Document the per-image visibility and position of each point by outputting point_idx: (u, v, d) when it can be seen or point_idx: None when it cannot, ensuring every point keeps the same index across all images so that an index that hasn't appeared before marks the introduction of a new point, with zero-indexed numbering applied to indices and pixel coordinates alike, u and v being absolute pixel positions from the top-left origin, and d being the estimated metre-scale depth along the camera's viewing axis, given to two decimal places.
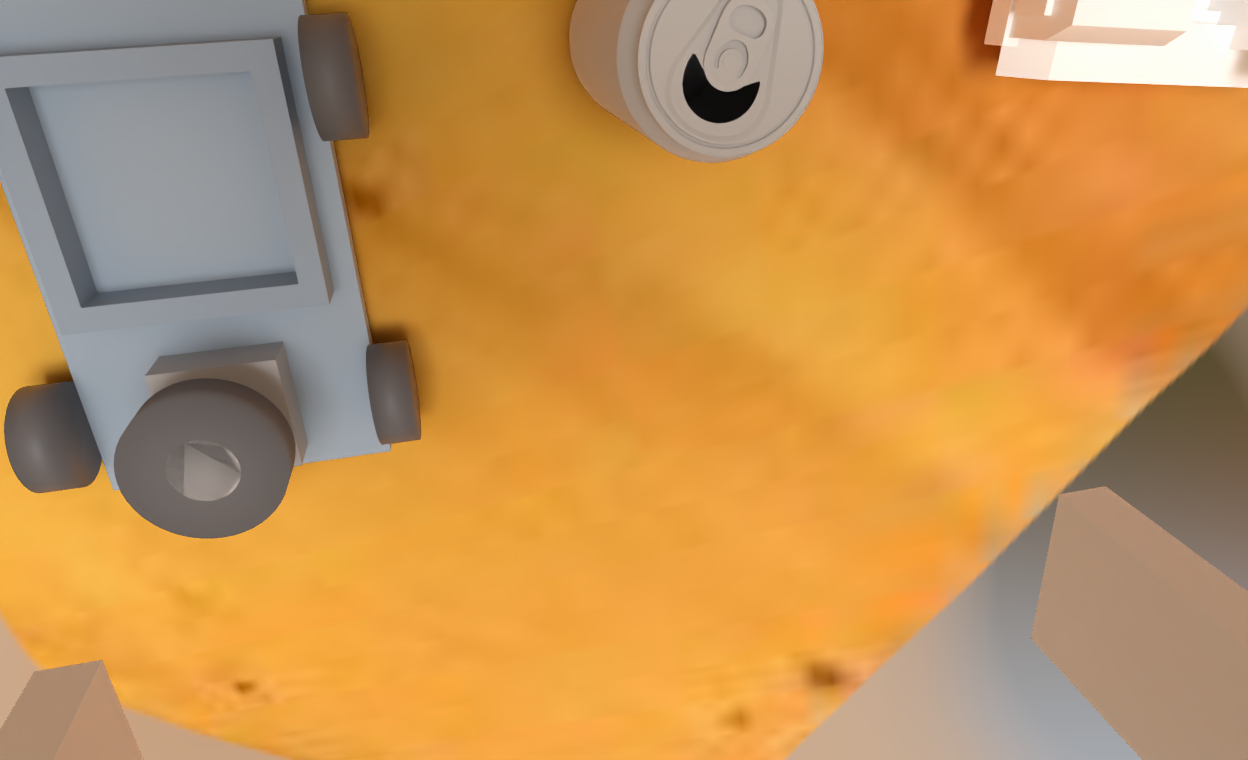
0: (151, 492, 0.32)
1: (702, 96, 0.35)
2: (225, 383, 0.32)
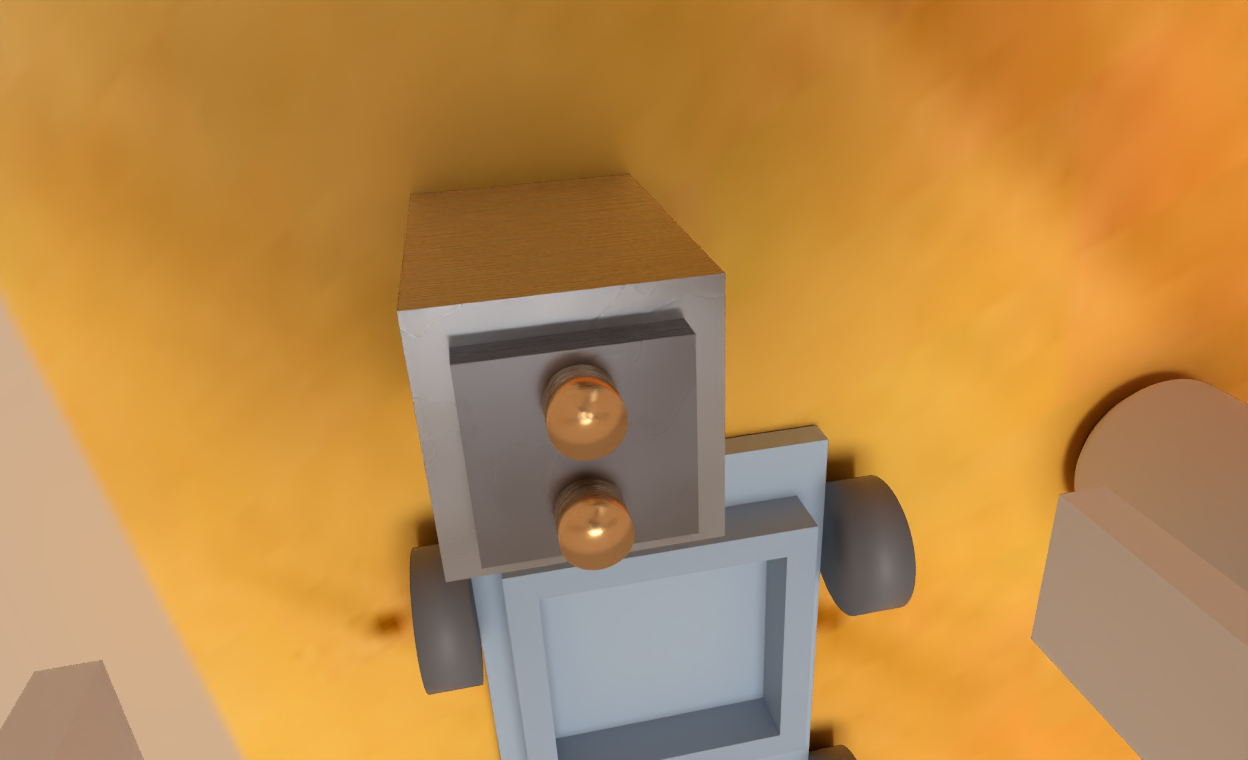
0: None
1: None
2: None
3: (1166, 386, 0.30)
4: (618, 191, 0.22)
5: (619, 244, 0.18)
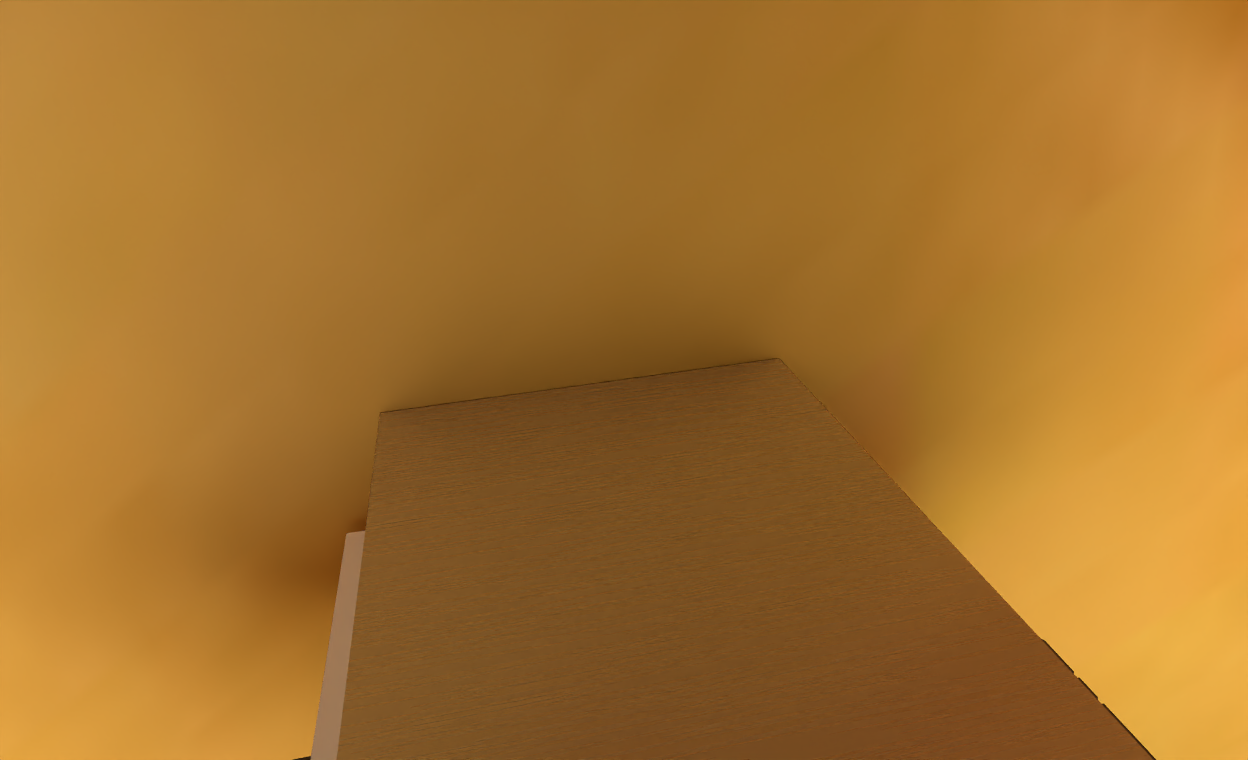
0: None
1: None
2: None
3: None
4: (784, 421, 0.11)
5: (888, 685, 0.07)
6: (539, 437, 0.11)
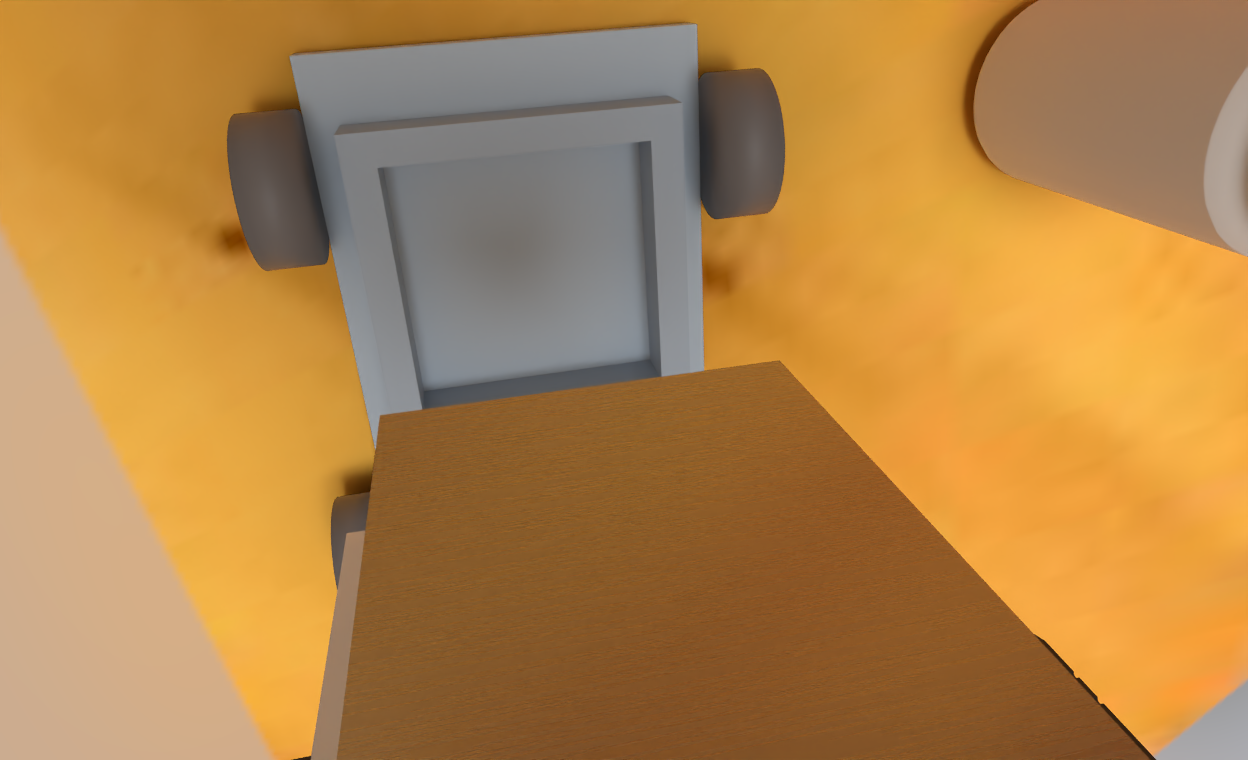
0: None
1: None
2: None
3: None
4: (784, 423, 0.11)
5: (890, 689, 0.07)
6: (539, 440, 0.11)
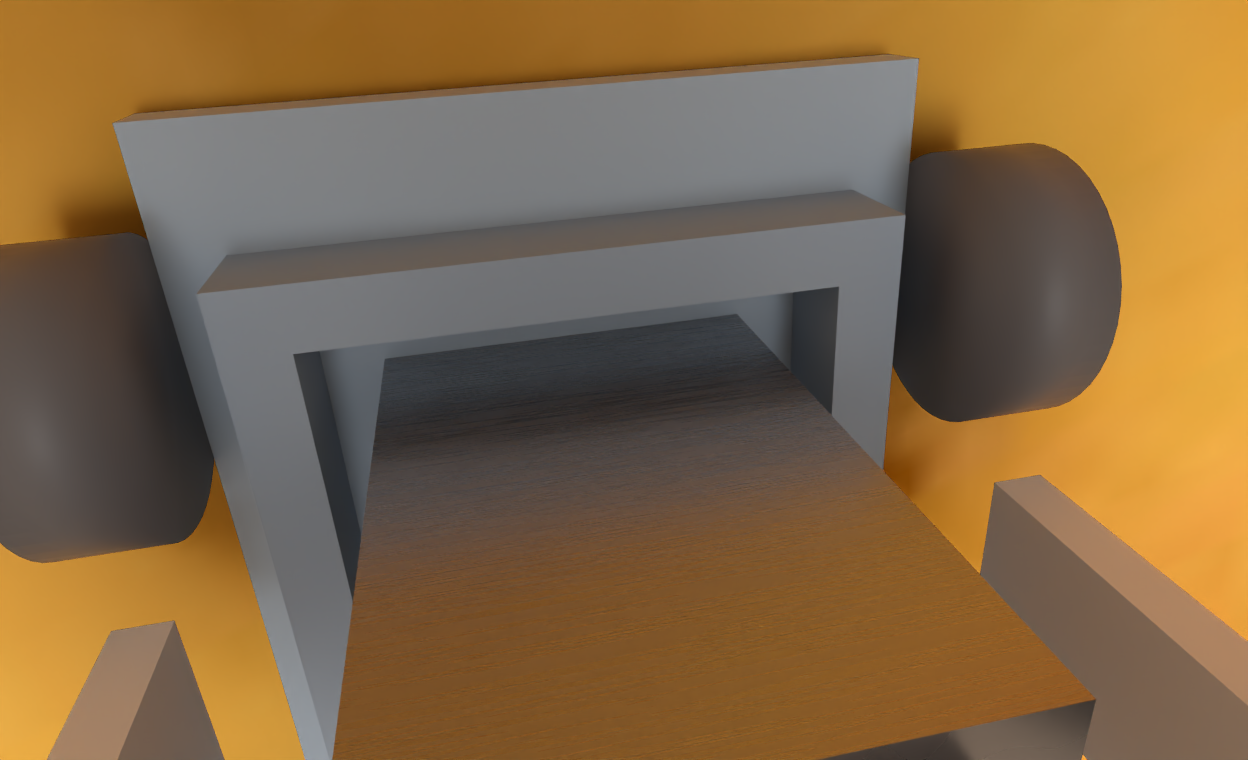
0: None
1: None
2: None
3: None
4: (735, 362, 0.13)
5: (797, 546, 0.09)
6: (523, 376, 0.13)
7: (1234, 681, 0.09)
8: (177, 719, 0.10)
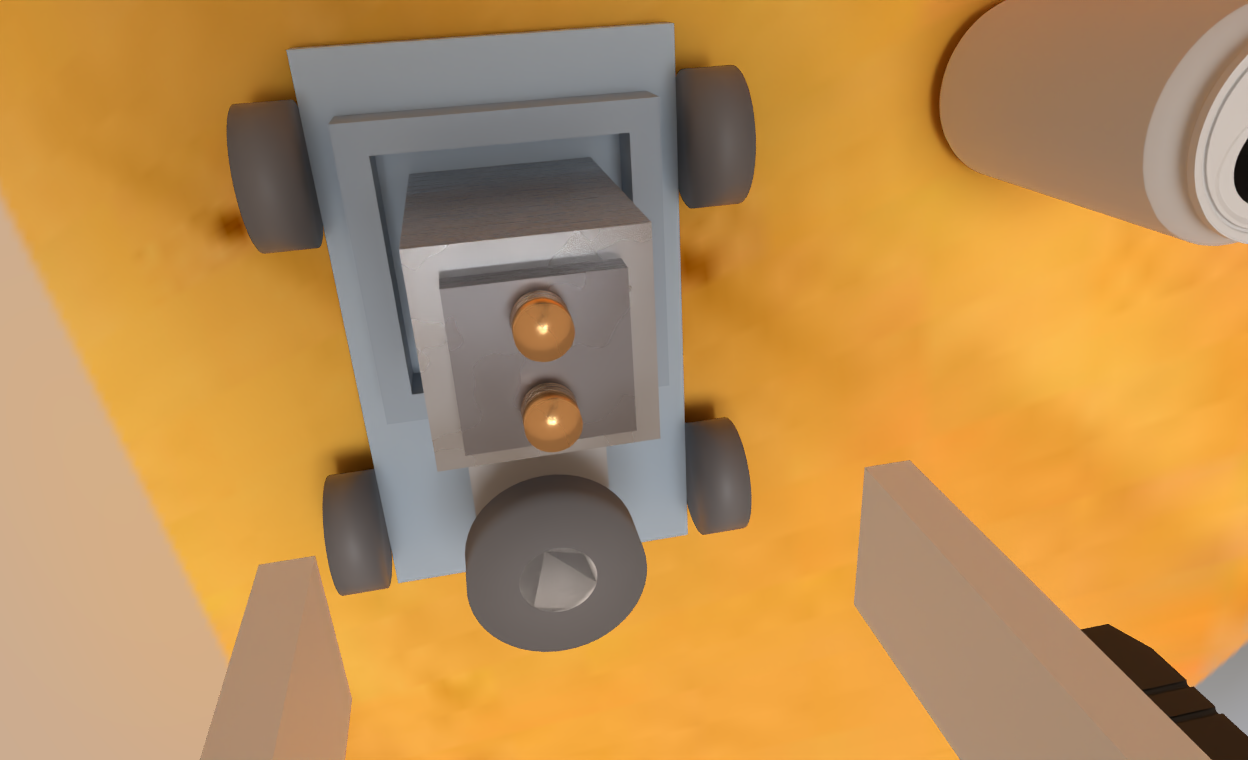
0: (501, 604, 0.28)
1: None
2: (579, 480, 0.28)
3: None
4: (580, 169, 0.27)
5: (574, 205, 0.23)
6: (476, 175, 0.27)
7: (1041, 648, 0.10)
8: (321, 643, 0.12)
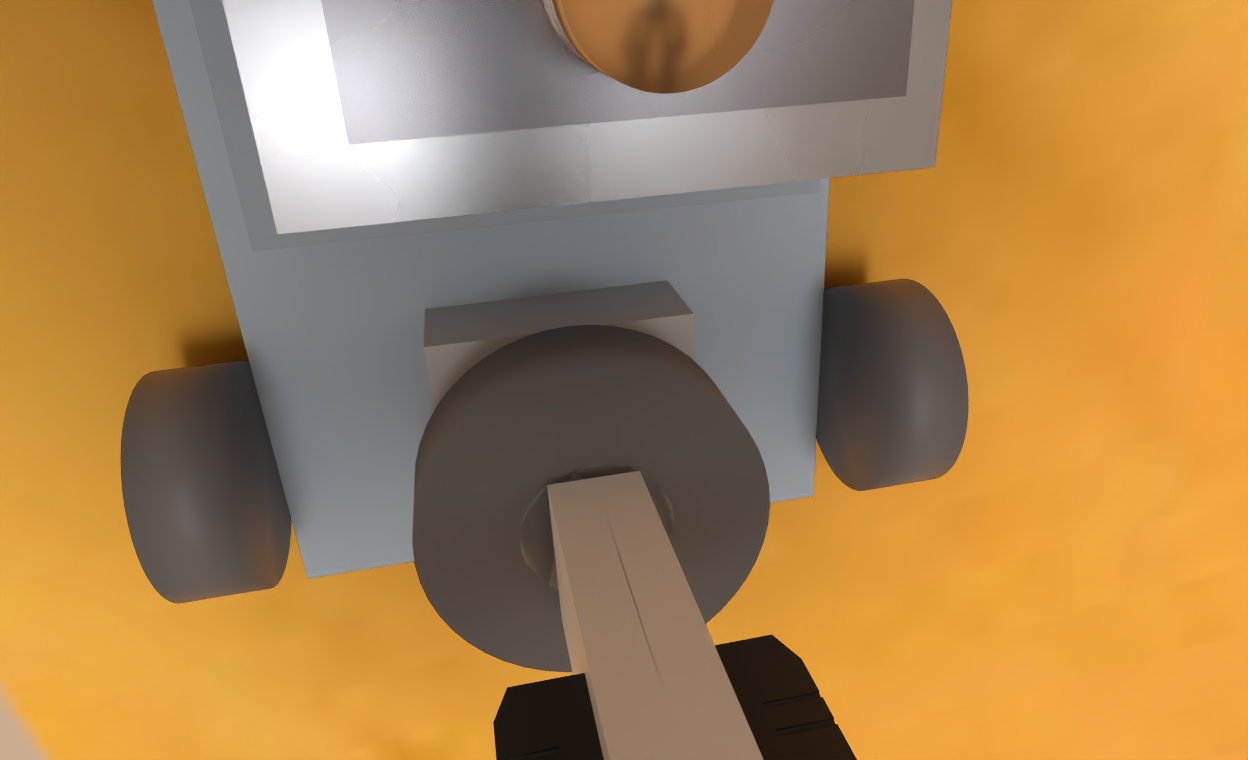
0: (483, 580, 0.14)
1: None
2: (638, 335, 0.14)
3: None
4: None
5: None
6: None
7: (666, 660, 0.10)
8: None
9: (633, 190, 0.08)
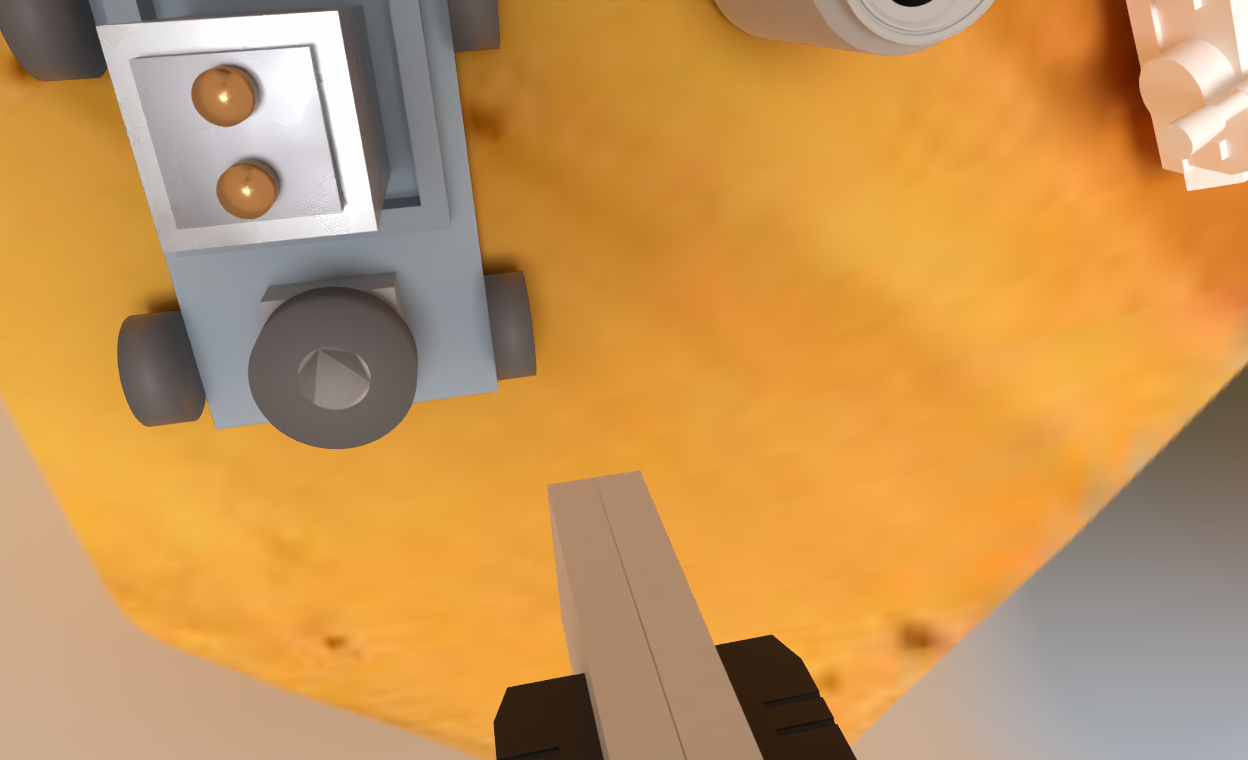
0: (282, 399, 0.32)
1: None
2: (355, 291, 0.32)
3: None
4: None
5: None
6: None
7: (666, 660, 0.10)
8: None
9: (274, 238, 0.25)
